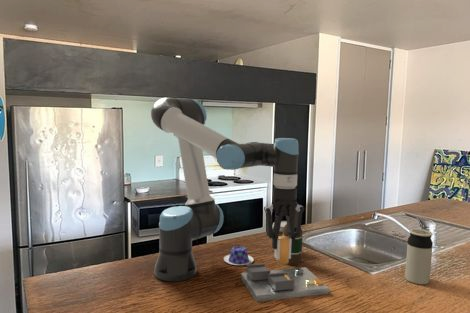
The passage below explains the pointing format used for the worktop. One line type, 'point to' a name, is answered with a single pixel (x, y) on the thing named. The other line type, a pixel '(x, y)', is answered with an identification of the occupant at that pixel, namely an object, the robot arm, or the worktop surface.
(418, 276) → the travel mug
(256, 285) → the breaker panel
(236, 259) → the pudding
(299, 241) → the beer bottle
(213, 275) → the worktop surface
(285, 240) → the cap
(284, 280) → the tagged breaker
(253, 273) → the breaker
